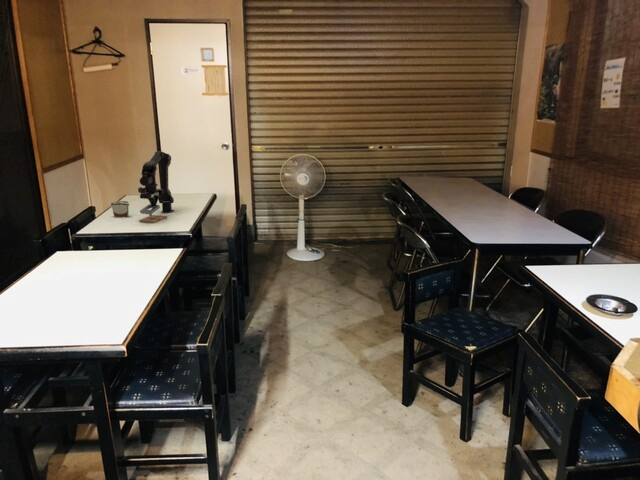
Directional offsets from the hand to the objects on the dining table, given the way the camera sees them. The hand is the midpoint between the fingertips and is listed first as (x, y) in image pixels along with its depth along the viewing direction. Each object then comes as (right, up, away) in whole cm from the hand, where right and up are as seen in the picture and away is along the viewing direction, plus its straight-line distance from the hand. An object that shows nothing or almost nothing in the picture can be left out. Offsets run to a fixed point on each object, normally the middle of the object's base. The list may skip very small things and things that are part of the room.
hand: (153, 206), depth 323 cm
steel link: (-1, -3, -3) cm, 4 cm away
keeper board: (-1, -9, 0) cm, 9 cm away
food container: (-24, -6, +10) cm, 27 cm away
